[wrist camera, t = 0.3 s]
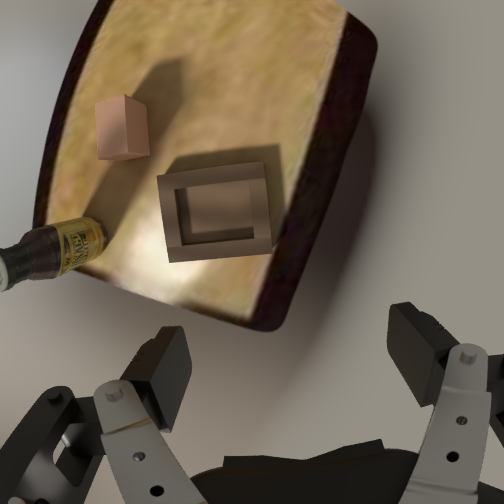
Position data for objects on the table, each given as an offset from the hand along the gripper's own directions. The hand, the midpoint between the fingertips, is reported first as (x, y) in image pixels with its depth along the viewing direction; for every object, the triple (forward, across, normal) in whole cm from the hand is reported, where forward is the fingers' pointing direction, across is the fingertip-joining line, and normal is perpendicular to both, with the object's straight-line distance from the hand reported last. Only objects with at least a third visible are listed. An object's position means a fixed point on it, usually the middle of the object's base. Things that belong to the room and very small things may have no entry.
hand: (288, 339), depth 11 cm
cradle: (+28, +7, -2) cm, 29 cm away
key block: (+28, +17, -14) cm, 36 cm away
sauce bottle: (+28, +26, -1) cm, 38 cm away
